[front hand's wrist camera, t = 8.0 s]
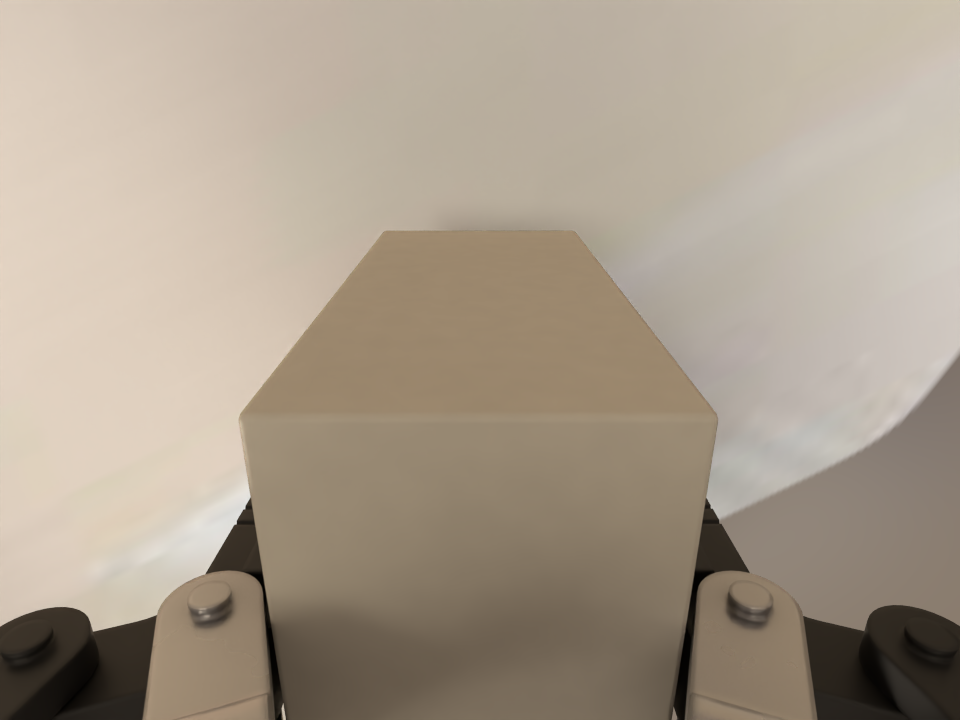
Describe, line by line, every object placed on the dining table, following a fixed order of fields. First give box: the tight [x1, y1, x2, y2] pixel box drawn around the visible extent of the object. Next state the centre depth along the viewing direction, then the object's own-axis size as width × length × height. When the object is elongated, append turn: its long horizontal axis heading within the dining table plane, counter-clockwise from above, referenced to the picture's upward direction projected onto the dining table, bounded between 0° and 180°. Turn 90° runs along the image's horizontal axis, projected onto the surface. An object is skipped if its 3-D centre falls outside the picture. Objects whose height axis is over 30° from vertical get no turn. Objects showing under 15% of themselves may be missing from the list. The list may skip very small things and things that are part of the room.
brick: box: [239, 231, 718, 720], centre depth 13 cm, size 5×8×11 cm, turn 0°
